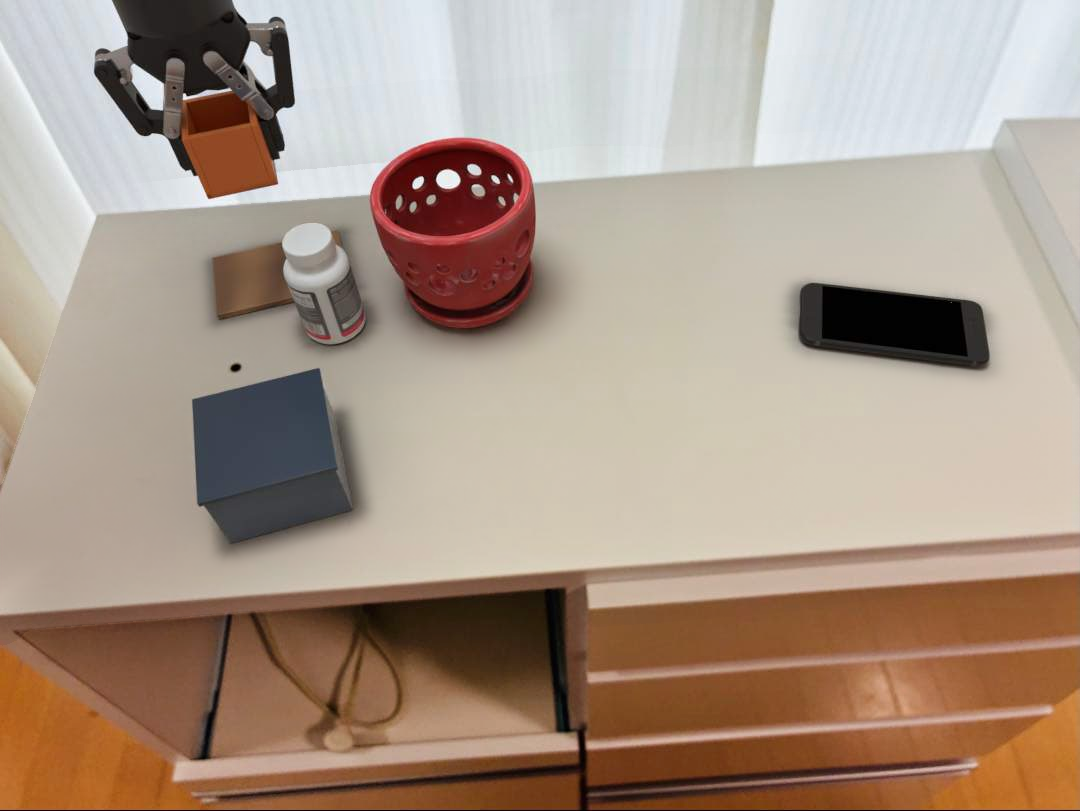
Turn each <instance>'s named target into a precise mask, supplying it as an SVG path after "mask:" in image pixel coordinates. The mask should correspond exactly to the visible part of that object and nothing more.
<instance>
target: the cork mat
mask: <svg viewBox="0 0 1080 811" xmlns="http://www.w3.org/2000/svg"><path fill="white" fill-rule="evenodd" d="M330 231H331V233H332V236H333V239H334V241H335V244H336V245H338V246H339V247H341V248H342V249H343V245H342V241H341V237H340V232H339V230H338V229H334V230H330ZM286 259H287V258H286V255H285V253H284V250H283V247H282V241H281V242H276V243H272V244H268V245H264V246H258V247H255V248H251V249H245V250H242V251H241V250H240V251H236V252H232V253H229V254H228V253H227V254H223V255H219V256H214V257H212V259H211V260H212V271H213V283H214V295H215V308H216V316H217V318H218V320H223V319H227V318H232V317H235V316H240V315H244V314H245V315H246V314H249V313H253V312H257V311H261V310H265V309H269V308H274V307H278V306H283V305H286V304H291V303H295V302H294V300H293V297H292V295H291V292H290V290H289V287H288V285H287V282H286V281H285V277H284V273H283V267H284V263H285V261H286Z"/></svg>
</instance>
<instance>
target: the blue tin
mask: <svg viewBox="0 0 1080 811" xmlns="http://www.w3.org/2000/svg"><path fill="white" fill-rule="evenodd" d="M191 404H192V405H191V407H192V426H193V444H194V448H193V449H194V466H195V467H194V468H195V487H196V504H197V506H198V507H204V508H205V509H206V511H207V512H208V514H209V515H210V516H211V518H212V519H213V521H214V522H215V524H216V525H217V526H218V528H219V529H220V531H221V532H222V534H223V535H224V537H225V538H226V539H227V540H228V542H229V543H230V544H234V543H237V542H241V541H245V540H248V539H251V538H256V537H259V536H263V535H266V534H269V533H274V532H277V531H281V530H285V529H289V528H292V527H295V526H300V525H304V524H306V523H307V524H308V523H310V522H314V521H318V520H321V519H325V518H328V517H331V516H336V515H339V514H342V513H343V514H344V513H347V512H350V511H353V510H354V508H353V503H352V497H351V492H350V487H349V481H348V476H347V475H348V474H347V470H346V466H345V459H344V454H343V449H342V448H343V447H342V443H341V439H340V438H341V437H340V432H339V428H338V427H339V426H338V422H337V417H336V414H335V412H334V410H333V407H332V405H331V403H330V400H329V398H328V395H327V392H326V390H325V387H324V383H323V377H322V372H321V369H320V367H316V368H312V369H309V370H305V371H301V372H297V373H296V372H295V373H292V374H288V375H284V376H280V377H276V378H272V379H267V380H264V381H260V382H256V383H253V384H249V385H245V386H240V387H236V388H232V389H228V390H224V391H220V392H215V393H211V394H207V395H204V396H200V397H196V398H191Z"/></svg>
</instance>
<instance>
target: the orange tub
mask: <svg viewBox="0 0 1080 811" xmlns="http://www.w3.org/2000/svg"><path fill="white" fill-rule="evenodd" d="M181 131H182V141H183V144H184V146H185V148H186V150H187V153H188V155H189V157H190V159H191V162H192V164H193V166H194V168H195V171H196V173H197V175H198V176H197V177H198V180H199V182H200V184H201V186H202V188H203V192H204V193H205V196H206V197H207V199H208V200H213V199H216V198H221V197H226V196H230V195H235V194H239V193H245V192H248V191H253V190H258V189H263V188H268V187H272V186H278V185H279V180H278V175H277V168H276V163H275V160H272V158H271V156H270V153H269V150H268V147H267V144H266V142H265V139H264V136H263V133H262V130H261V127H260V125H259V121H258V115H257V114H256V112H255V111H254V110H253V109H252V108H251V107H250V106H249V105H248V104H247V103H246V102H245V101H242V100H241V99H240V98H239V97H238V96H237V95H236V94H235V93H234V92H233V91H232V90H228V91H221V92H218V93H211V94H208V95H203V96H198V97H192V98H187V99H183V106H182V115H181Z"/></svg>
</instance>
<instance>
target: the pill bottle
mask: <svg viewBox="0 0 1080 811" xmlns="http://www.w3.org/2000/svg"><path fill="white" fill-rule="evenodd" d="M331 231H332V230H330V228H329V227H328V226H326V225H325V224H323V223H319V222H307V223H301V224H298V225H296V226H294V227H292V228H291V229H289V230H288V231H287V232H286V233H285V235H284V236H283V237H282V240H281V242H282V247H283V250H284V253H285V255H286V258H287V259H286V261H285V263H284V267H283V273H284V277H285V281H286V282H287V285H288V287H289V290H290V292H291V295H292V297H293V300H294V302H293V303H294V305H295V308H296V309H297V313H298V315H299V317H300V318H299V319H300V320H301V322H302V325H303V327H304V329H305V332H306V334H307V335H308V337H309V338H310V339H312V340H313V341H315V342H316V343H319V344H324V345H336V344H341V343H345V342H347V341H349V340H351V339H353V338H354V337H355V336H357V335H358V334H359V333H360V332H361V330H363V328H364V326H365V323H366V320H367V319H366V316H367V315H366V312H365V308H364V304H363V301H362V298H361V295H360V291H359V287H358V285H357V280H356V278H355V275H354V272H353V268H352V264H351V260H350V258H349V256H348V255H347V252H346V251H345V250H344V249H343V247H342V248H341V247H339V246H338V245H336V244H335V241H334V239H333V236H332V233H331Z"/></svg>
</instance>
